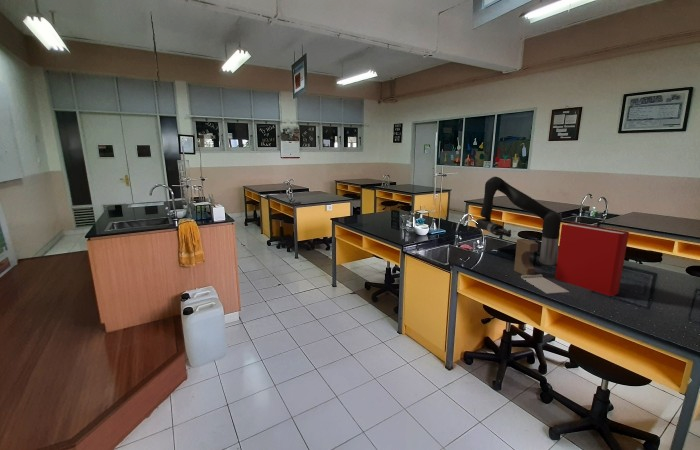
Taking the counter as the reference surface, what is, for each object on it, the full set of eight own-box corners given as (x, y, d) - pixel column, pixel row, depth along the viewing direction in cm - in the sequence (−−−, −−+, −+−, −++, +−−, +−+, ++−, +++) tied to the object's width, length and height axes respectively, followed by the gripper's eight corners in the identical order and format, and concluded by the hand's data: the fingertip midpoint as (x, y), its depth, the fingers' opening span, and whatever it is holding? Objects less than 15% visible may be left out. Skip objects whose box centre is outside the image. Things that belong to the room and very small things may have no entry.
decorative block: (535, 276, 186) (539, 243, 182) (526, 277, 185) (530, 244, 181) (521, 269, 197) (524, 238, 192) (513, 270, 196) (516, 239, 191)
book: (554, 278, 182) (561, 224, 175) (562, 276, 186) (569, 222, 179) (612, 296, 159) (622, 234, 152) (619, 292, 163) (630, 231, 156)
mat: (540, 276, 186) (540, 274, 185) (569, 292, 164) (569, 289, 164) (520, 277, 185) (521, 275, 184) (547, 293, 163) (547, 291, 163)
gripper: (486, 223, 219) (500, 230, 202) (504, 223, 220) (520, 229, 203) (485, 234, 220) (499, 241, 204) (503, 233, 222) (519, 240, 205)
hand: (509, 235), depth 203 cm, fingers closed
